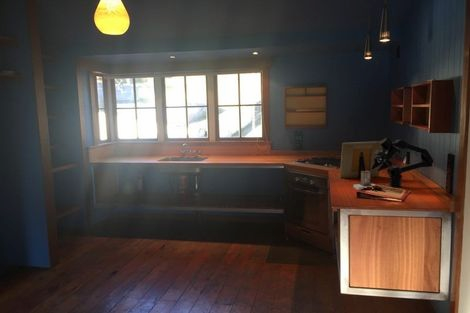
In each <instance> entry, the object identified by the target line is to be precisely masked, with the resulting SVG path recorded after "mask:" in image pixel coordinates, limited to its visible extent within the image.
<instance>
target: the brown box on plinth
mask: <svg viewBox="0 0 470 313" xmlns="http://www.w3.org/2000/svg"><path fill="white" fill-rule="evenodd" d="M359 184H360V185H361V186H372V185H371V184H372V182H371V172H370V171H361V179H360V183H359Z"/></svg>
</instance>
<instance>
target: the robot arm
mask: <svg viewBox="0 0 470 313" xmlns="http://www.w3.org/2000/svg"><path fill="white" fill-rule="evenodd" d="M380 141H381V142H380V145H381V146H382V149H384V150H382V151H378V150H376V152H375V155H378V156H379V157H378V156H375V157H374V158H373V159H374V164H373V166H372V168H371V169H374V168H376V167H378V166H380V167H379V168H378V170H377V171H379V172H380V171H382V170H385V169H386V170H387V171H386V173H387V175H388V176H389V177H390V178H389V185H388V186H389V187H392V188H402V187H403V186H402V185H401V184H402V178H403V175H402V174H403V173H406V172H409V171H413V170H416V169H420V168H428V167H429V168H430V167H433V166H432V163H433V160H434V159H433V157H432V156H431V154H430V153H429V151H428V150H427V149H426V148H422V147H418V146H415V145H412V144H410V143H408V142H406V141H405V140H403V139H396V140H395V141H391V140H390V138H389V137H384V139H382V140H380ZM401 149H404V150H408V151H412V152H415V153H418V154H419V155H420V160H419V161H416V162H412V163H409V164H406V165H402V166H400V165H394V163H393V162H392V161H391V160H393V159H394V157H395V155H396V154H401ZM385 150H386V151H385Z"/></svg>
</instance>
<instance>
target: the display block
mask: <svg viewBox="0 0 470 313" xmlns="http://www.w3.org/2000/svg"><path fill="white" fill-rule="evenodd" d="M360 184H361V183H359V184H353V188H354V189H356V190H357V191H362V190H361V189H363V188H367V187H370V186H361V185H360ZM371 185H372V186H374V185H375V184H374V183H371Z"/></svg>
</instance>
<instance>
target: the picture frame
mask: <svg viewBox="0 0 470 313" xmlns="http://www.w3.org/2000/svg"><path fill="white" fill-rule="evenodd" d="M381 141H382V140H380V141H379V140H378V141H377V140H376V141H357V142H355V141H353V142H342V145H341V155H340V157H341V158H340V166H339V167H340V171H339V178H340V179H345V178H349V179H350V178H358V180H361V171H370V172H371V177H372V178H373V177H379V176H380V171H377V170H378V168H379V167H380V166H381V165H380V166H378V167H376V168H374V169H371V168H372V166H373V164H374V159H373V158H374V157H375V156H378V155H375V152H376V150H378V151H383V147H382V146H381V145H380V142H381ZM378 157H379V156H378Z"/></svg>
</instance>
